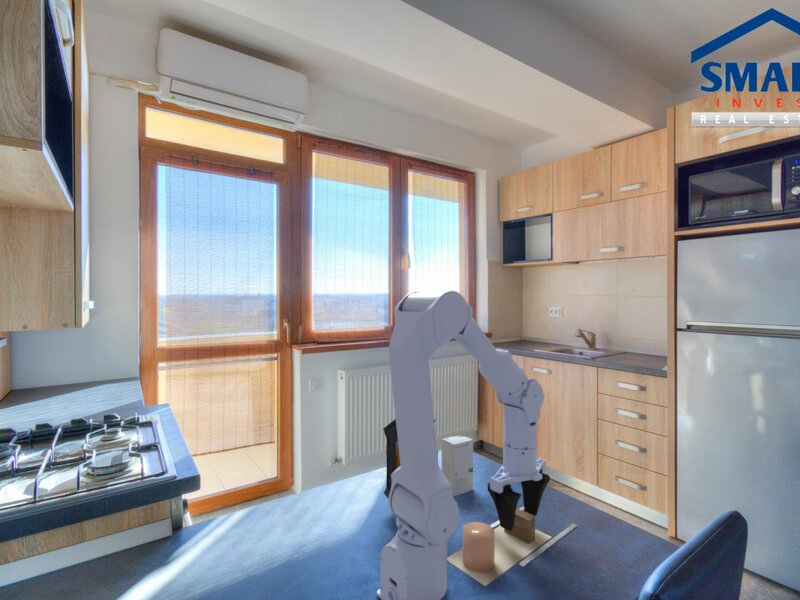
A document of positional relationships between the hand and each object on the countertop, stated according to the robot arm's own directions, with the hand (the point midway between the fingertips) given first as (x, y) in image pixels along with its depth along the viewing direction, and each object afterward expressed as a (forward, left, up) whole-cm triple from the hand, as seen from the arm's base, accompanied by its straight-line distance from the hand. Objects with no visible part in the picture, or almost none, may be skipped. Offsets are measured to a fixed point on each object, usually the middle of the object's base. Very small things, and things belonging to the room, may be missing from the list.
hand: (519, 520), depth 71 cm
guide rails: (+2, 0, -4) cm, 4 cm away
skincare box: (+5, +19, -4) cm, 20 cm away
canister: (-9, +19, -4) cm, 21 cm away
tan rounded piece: (-11, 0, -3) cm, 12 cm away
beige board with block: (-5, 0, -4) cm, 7 cm away
